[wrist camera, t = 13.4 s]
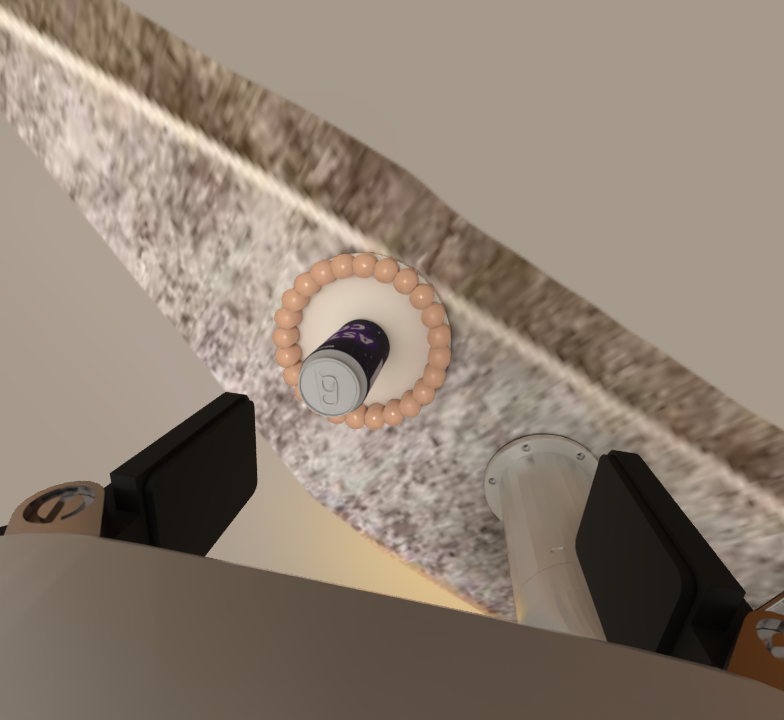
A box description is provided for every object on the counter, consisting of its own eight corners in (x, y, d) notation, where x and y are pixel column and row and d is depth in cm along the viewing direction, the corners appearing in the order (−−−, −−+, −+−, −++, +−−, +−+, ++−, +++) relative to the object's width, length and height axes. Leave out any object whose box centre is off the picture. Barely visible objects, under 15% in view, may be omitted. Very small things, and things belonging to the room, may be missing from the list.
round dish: (463, 261, 38) (463, 263, 35) (440, 428, 44) (439, 442, 41) (283, 243, 40) (270, 244, 37) (285, 404, 46) (273, 416, 43)
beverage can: (392, 319, 40) (365, 356, 28) (390, 371, 42) (364, 426, 30) (337, 315, 40) (291, 349, 29) (338, 366, 42) (294, 417, 31)
